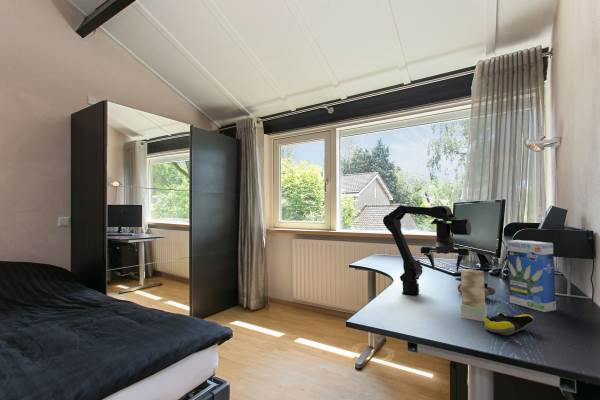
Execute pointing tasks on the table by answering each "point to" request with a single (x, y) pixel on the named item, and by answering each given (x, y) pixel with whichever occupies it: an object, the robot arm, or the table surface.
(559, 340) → the table surface
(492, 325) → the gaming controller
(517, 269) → the string lights box
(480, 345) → the table surface
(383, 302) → the table surface
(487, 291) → the figurine character
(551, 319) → the table surface
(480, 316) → the bottom slab
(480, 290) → the maple block
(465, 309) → the top slab
